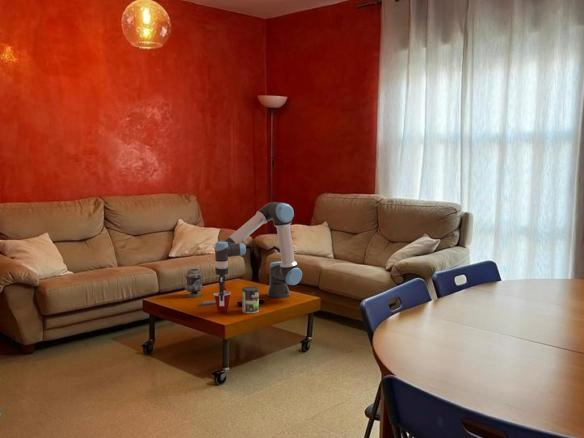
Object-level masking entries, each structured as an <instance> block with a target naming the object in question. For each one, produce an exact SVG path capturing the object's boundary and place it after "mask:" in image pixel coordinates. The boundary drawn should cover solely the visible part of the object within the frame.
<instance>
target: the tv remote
mask: <svg viewBox="0 0 584 438" xmlns="http://www.w3.org/2000/svg"><path fill="white" fill-rule="evenodd" d="M198 305H199V306H200V307H205V306H215V305H216V300H209V301H202V302H198Z"/></svg>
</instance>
